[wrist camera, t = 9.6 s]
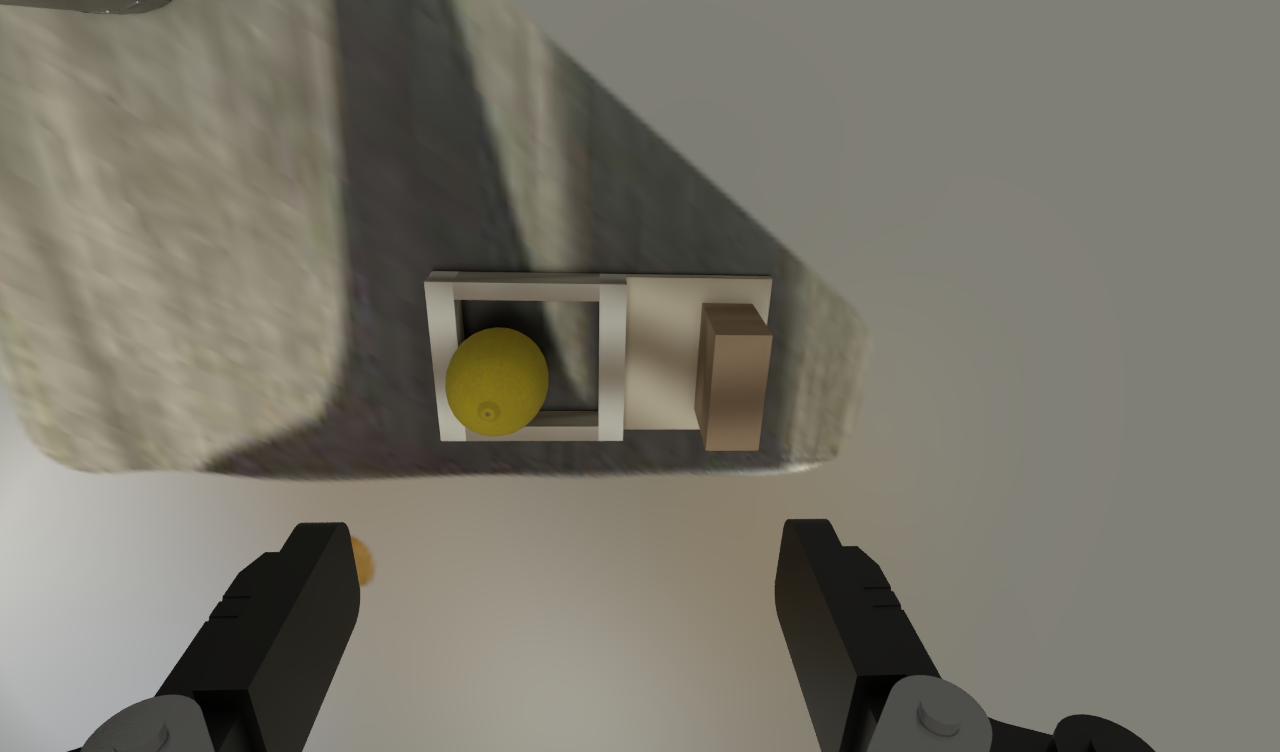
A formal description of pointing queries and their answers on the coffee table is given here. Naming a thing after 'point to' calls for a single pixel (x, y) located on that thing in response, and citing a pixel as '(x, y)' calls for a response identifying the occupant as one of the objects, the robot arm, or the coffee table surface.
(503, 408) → the lemon
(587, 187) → the coffee table surface
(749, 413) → the white open frame tray
